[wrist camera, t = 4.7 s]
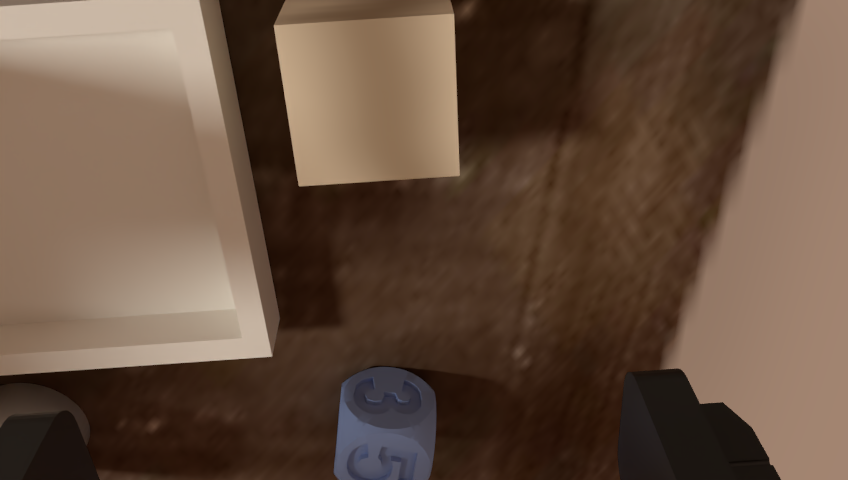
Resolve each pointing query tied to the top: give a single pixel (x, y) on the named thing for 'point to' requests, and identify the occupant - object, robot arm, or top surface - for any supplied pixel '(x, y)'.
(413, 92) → the wooden block
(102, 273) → the tray
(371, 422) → the decorative dice
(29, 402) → the grey rounded cylinder
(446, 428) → the top surface
